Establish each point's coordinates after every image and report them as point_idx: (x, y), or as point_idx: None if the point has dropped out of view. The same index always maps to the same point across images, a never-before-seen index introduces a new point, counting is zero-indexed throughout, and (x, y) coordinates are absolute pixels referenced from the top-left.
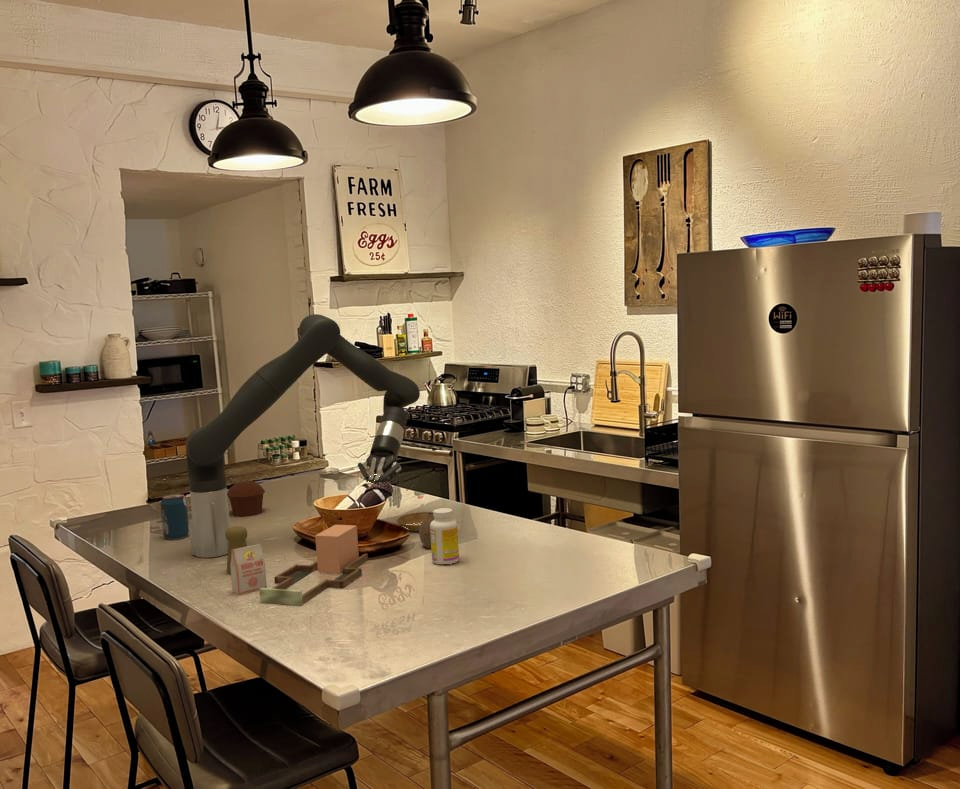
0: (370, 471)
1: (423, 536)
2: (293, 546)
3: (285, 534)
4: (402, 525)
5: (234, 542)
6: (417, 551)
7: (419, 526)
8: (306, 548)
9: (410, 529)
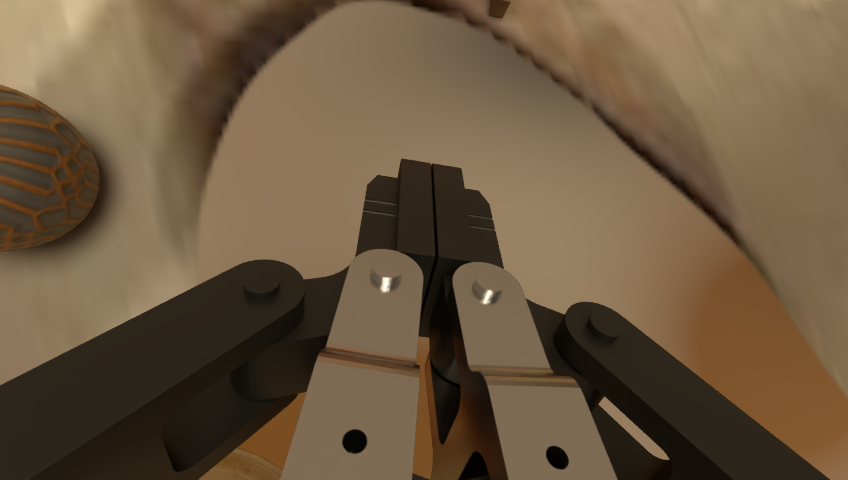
0: (559, 377)
1: (41, 102)
2: (728, 179)
3: (845, 363)
4: None
5: None
6: (119, 98)
7: None
8: (662, 150)
9: (240, 460)
